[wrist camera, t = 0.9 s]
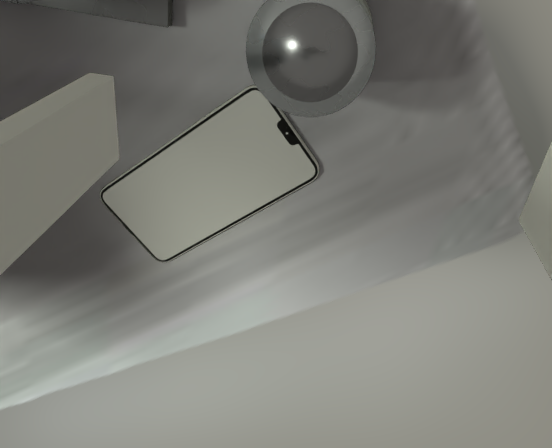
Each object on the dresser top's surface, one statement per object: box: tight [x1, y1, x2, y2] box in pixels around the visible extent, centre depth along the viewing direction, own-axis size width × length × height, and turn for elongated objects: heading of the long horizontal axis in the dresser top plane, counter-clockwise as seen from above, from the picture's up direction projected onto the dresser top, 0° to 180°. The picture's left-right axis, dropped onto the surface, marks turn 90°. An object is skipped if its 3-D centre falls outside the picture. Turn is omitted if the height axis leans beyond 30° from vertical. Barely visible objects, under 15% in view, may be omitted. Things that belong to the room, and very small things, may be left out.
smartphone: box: [100, 85, 319, 262], centre depth 34 cm, size 7×1×15 cm
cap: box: [246, 0, 376, 117], centre depth 25 cm, size 6×6×6 cm
